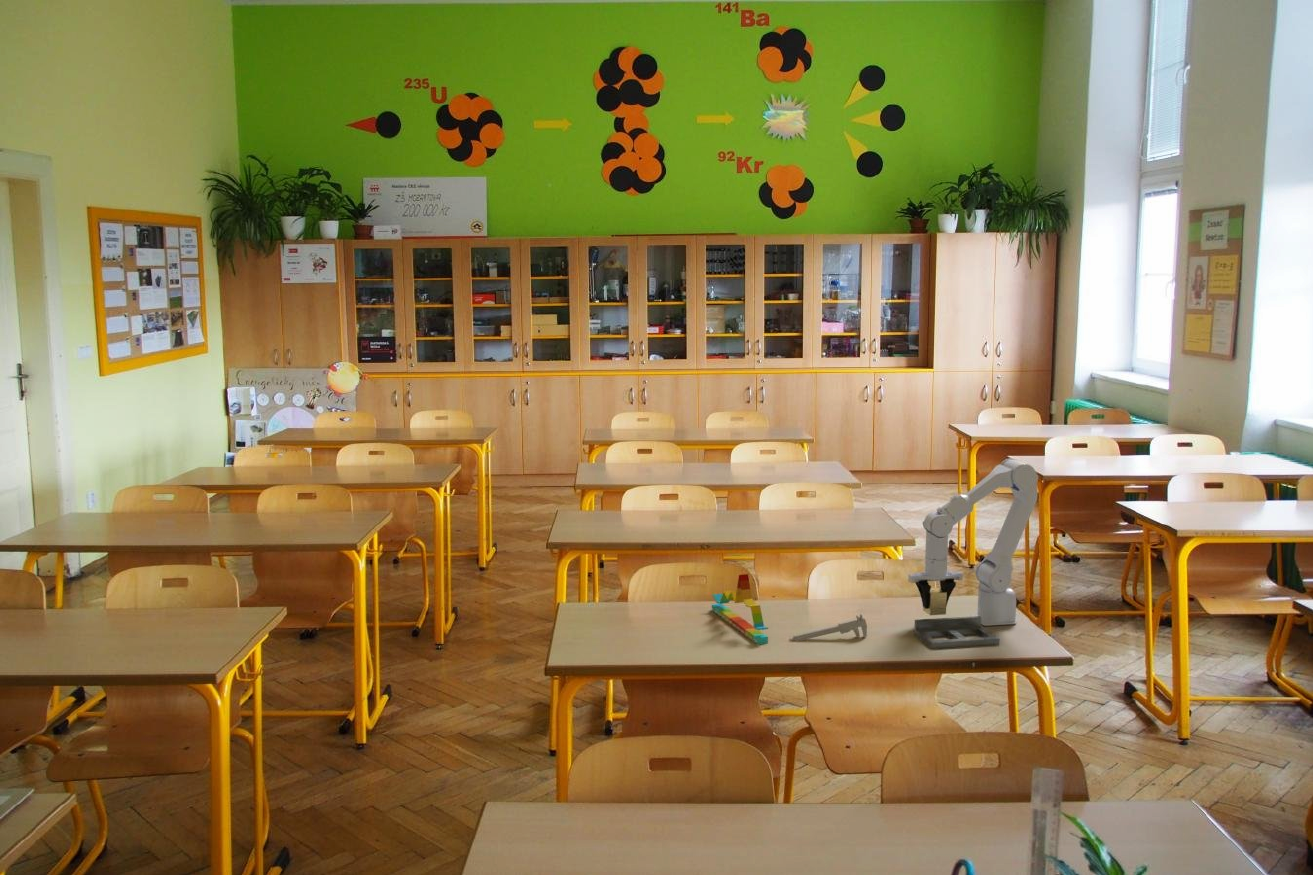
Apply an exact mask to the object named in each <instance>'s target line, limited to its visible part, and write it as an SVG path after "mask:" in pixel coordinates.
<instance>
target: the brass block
mask: <svg viewBox="0 0 1313 875" xmlns="http://www.w3.org/2000/svg"><path fill="white" fill-rule="evenodd" d="M946 599H947V592H945V591H944V590H942V589H941V587H934V588H933V587H931V589H930V594H929V607H928V609H925V608H924V607H923V606H922V611H923V612H925V613H926V614H927V615H929V616H939V615H940V616H942V615H947V606H946Z"/></svg>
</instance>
